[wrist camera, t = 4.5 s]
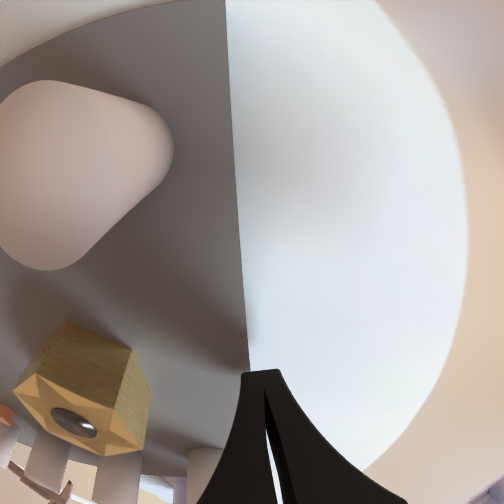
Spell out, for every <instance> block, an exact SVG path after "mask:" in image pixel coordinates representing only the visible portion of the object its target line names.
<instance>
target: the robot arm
mask: <svg viewBox="0 0 504 504" xmlns="http://www.w3.org/2000/svg"><path fill="white" fill-rule="evenodd" d="M266 431H267V435H268V439H269V442H270V446H271V450H272V454H273V457H274V461H275V465H276V468H277V472H278V477H279V482H280V488H281V494H282V500H283V504H408V503H407V502H406V500H405V499H403V498H401V497H399V496H397V495H396V494H394V493H392V492H390V491H388V490H387V489H385V488H383V487H382V486H380V485H379V484H377V483H376V482H374V481H373V480H371V479H370V478H369V477H367V476H366V475H364V474H363V473H362V472H361V471H360V470H358V469H357V468H356V467H354V466H353V465H352V464H351V463H350V462H348V461H347V460H346V459H345V458H344V457H343V456H342V455H341V454H340V453H339V452H338V451H337V450H336V449H335V448H334V447H333V446H332V445H331V444H330V443H329V442H328V441H327V440H326V439H325V438H324V437H323V436H322V435H321V433H320V432H319V431H318V430H317V429H316V427H315V426H314V425H313V424H312V422H311V421H310V420H309V418H308V417H307V416H306V414H305V413H304V411H303V410H302V409H301V407H300V406H299V404H298V403H297V401H296V400H295V398H294V397H293V395H292V393H291V391H290V390H289V388H288V386H287V384H286V382H285V381H284V378H283V376H282V374H281V372H280V370H279V369H270V370H261V371H252V372H243V373H242V374H241V385H240V394H239V399H238V405H237V409H236V413H235V417H234V421H233V424H232V428H231V431H230V434H229V437H228V440H227V443H226V445H225V448H224V450H223V453H222V455H221V458H220V460H219V462H218V465H217V467H216V469H215V471H214V473H213V475H212V477H211V479H210V481H209V483H208V485H207V486H206V488H205V490H204V492H203V493H202V495H201V497H200V498H199V500H198V501H197V503H196V504H278V502H277V497H276V492H275V487H274V482H273V477H272V471H271V466H270V460H269V454H268V449H267V440H266ZM162 477H163V478H164V479H165V480H166V481H167V482H168V483H169V484H170V485H171V486H172V487H173V488H174V493H173V504H187V477H170V476H162ZM465 504H504V475H502V476H501V477H500V478H498V479H497V480H496V481H494V482H492V483H491V484H490V485H488V486H487V487H485V488H484V489H483V490H481V491H480V492H479V493H477V494H476V495H475V496H473V497H472V498H471V499H470V500H469V501H468V502H467V503H465Z"/></svg>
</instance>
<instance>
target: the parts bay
mask: <svg viewBox="0 0 504 504" xmlns="http://www.w3.org/2000/svg"><path fill="white" fill-rule="evenodd" d="M15 416H16V414H15V413H14V412H13V411H12V410H11V409H10V407H8V406H5V405H3V404H0V422H2V423H5V424H7V425H10V426H11V425H12V422H13V420H14V418H15Z"/></svg>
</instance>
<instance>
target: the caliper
mask: <svg viewBox="0 0 504 504" xmlns="http://www.w3.org/2000/svg"><path fill="white" fill-rule="evenodd" d="M7 468H9V469H10V470H11V471H12V472H14V473H15V474H16V475H17V476H19V477H20V480H21V481H22V482H23V483H24V484H26V485H27V486H29V487H30V488H31V489H32V490H34V491H35V492H37V493H38V494H39V495H41V496H42V497H44V498H45V499H47V500H49V499H50V500H51V501H50V502H49V503H48V504H68V502H69V501H70V498H71V493H72V488H73V484H72V482H71V481H70V480H69V481H68V483H67V485H66V486H65V488H64V489H63V491H62V492H61V494H60V495H58V494H57V493H56V492H53V491H51V490H49V489H46V488H44V487H42V486H40V485H39V484H37V483H35V482H33V481H32V480H30V479H29V478H28V477H26V476H25V475H24V470H22V469H21V468H20V467H18V466H17V465H16V464H15V463H13V462H12V461H11V460H10V461H9V464H8V467H7Z"/></svg>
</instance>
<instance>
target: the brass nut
mask: <svg viewBox="0 0 504 504" xmlns="http://www.w3.org/2000/svg"><path fill="white" fill-rule="evenodd" d="M13 392H14V393H15V395H16V396H17V397H18V399H19V400H20V401H21V402H22V404H23V405H24V406H25V407H26V408H27V410H28V411H29V412H30V413H31V414H32V415H33V417H34V418H35V419H36V420H37V421H38V422H39V423H40V424H41V425H42V427H43V428H44V429H45V430H46V431H47V432H49V433H51V434H53V435H55V436H57V437H59V438H61V439H63V440H66V441H68V442H70V443H72V444H74V445H77V446H79V447H82V448H84V449H86V450H89V451H91V452H94V453H97V454H99V455H102V456H110V455H116V454H122V453H128V452H133V451H138V450H143V447H144V440H145V434H146V427H147V421H148V415H149V410H150V404H151V399H152V392H151V390H150V388H149V386H148V384H147V382H146V380H145V378H144V375H143V373H142V371H141V369H140V366H139V364H138V362H137V360H136V357H135V355H134V352H133V350H132V349H130V348H128V347H125V346H123V345H121V344H118V343H116V342H113V341H111V340H109V339H106V338H104V337H102V336H100V335H97V334H95V333H93V332H91V331H89V330H87V329H84V328H82V327H80V326H78V325H76V324H74V323H72V322H70V321H68V320H67V321H66V322H65V323H63V324H62V325H61V326H60V327H59V328H58V329H57V330H55V331H54V332H53V333H52V334H51V335H50V336H49V337H47V338H46V339H45V340H44V341H43V342H42V343H41V344H40V345H39V346H38V348H37V349H36V351H35V353H34V354H33V356H32V357H31V359H30V361H29V362H28V364H27V366H26V368H25V369H24V371H23V373H22V374H21V376H20V378H19V380H18V382H17V383H16V385H15V387H14V389H13Z"/></svg>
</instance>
